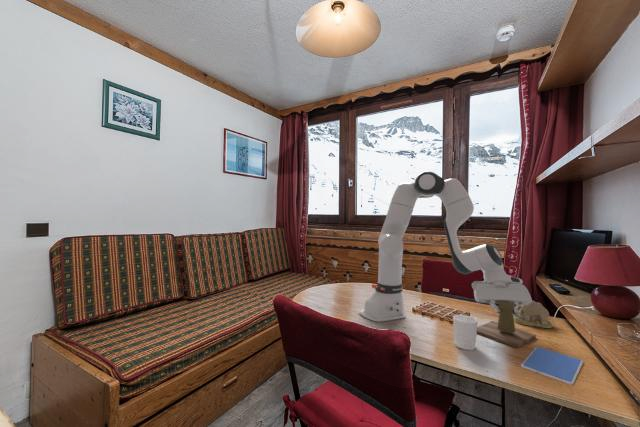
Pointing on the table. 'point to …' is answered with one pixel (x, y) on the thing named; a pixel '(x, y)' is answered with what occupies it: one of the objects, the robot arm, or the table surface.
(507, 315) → the olive green waisted column
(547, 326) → the ceramic model
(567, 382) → the tablet computer
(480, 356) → the table surface
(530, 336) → the walnut board
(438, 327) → the table surface
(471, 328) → the white cup
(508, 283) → the robot arm
